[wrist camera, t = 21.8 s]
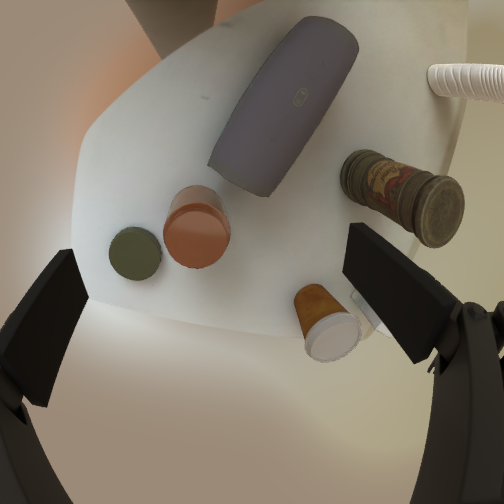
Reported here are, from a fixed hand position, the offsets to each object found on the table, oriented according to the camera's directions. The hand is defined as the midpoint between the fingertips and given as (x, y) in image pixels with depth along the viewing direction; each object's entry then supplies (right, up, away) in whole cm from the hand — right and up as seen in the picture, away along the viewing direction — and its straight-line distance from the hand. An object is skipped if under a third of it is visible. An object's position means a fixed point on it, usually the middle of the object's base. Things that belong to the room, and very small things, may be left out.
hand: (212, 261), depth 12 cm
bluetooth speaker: (+5, +20, +21) cm, 29 cm away
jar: (-6, +6, +26) cm, 27 cm away
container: (+19, +13, +28) cm, 36 cm away
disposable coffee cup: (+12, -8, +37) cm, 39 cm away
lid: (-15, 0, +25) cm, 29 cm away
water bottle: (+36, +31, +22) cm, 53 cm away
